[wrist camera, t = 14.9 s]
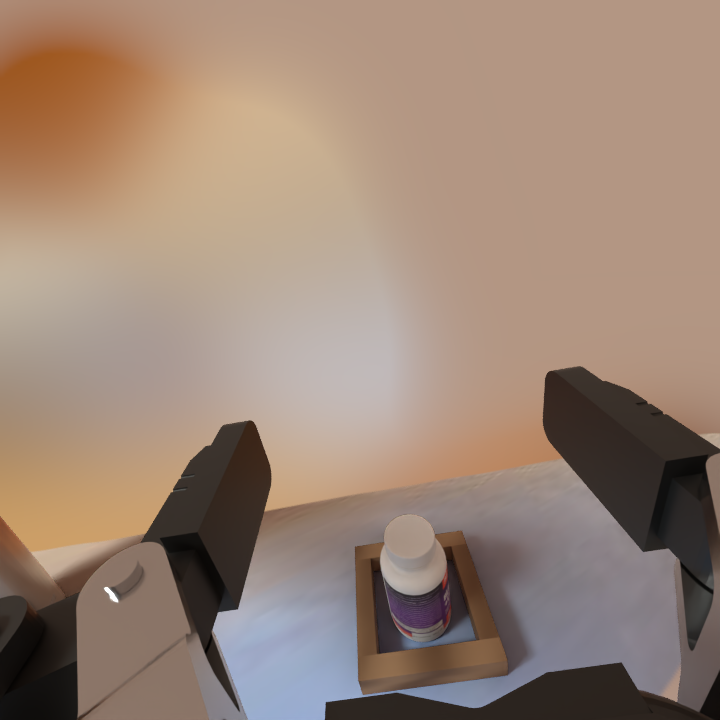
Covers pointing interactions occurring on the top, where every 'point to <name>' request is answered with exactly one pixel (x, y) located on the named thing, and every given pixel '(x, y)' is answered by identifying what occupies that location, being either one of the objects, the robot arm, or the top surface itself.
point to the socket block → (431, 661)
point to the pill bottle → (416, 578)
